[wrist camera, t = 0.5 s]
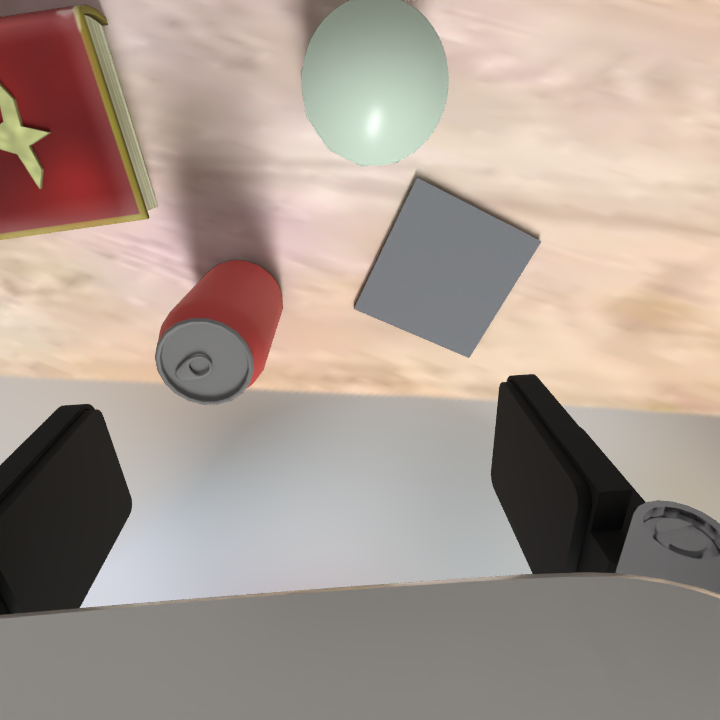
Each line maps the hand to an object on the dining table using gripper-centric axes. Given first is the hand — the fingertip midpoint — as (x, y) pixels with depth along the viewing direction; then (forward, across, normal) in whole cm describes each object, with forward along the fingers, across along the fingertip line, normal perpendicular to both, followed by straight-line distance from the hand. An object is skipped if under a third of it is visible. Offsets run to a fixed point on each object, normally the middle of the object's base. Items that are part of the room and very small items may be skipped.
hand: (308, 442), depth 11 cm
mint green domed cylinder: (+27, -4, -9) cm, 29 cm away
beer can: (+27, +7, +5) cm, 29 cm away
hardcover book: (+28, +23, -7) cm, 37 cm away
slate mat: (+27, -9, +4) cm, 29 cm away
